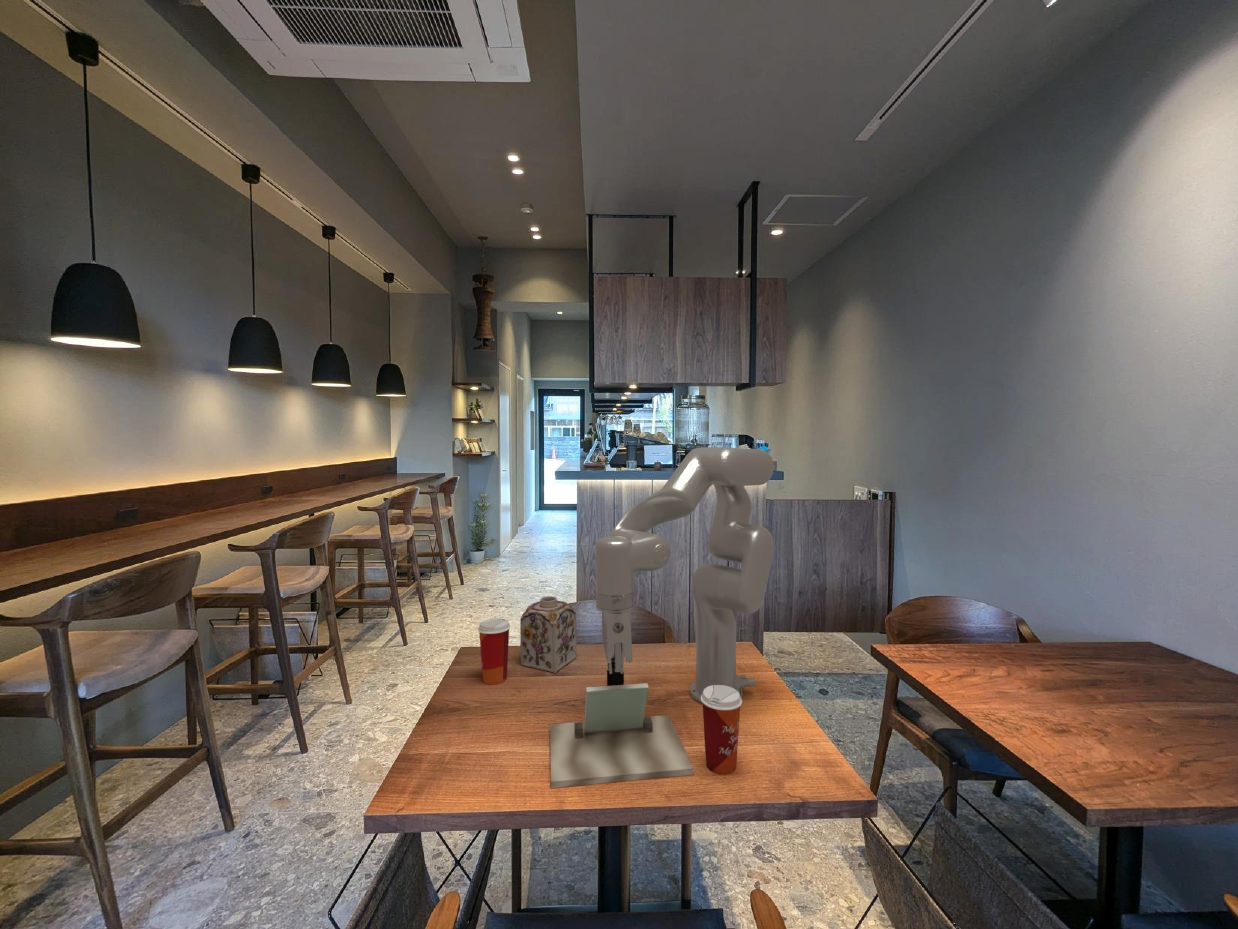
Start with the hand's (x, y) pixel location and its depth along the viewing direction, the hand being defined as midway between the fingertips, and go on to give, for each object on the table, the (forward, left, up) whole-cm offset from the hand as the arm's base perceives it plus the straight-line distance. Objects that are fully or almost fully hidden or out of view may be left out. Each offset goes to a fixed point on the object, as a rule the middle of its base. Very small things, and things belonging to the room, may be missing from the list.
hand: (615, 690), depth 104 cm
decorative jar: (+13, -44, -12) cm, 47 cm away
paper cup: (-19, +8, -12) cm, 24 cm away
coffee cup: (+27, -35, -12) cm, 46 cm away
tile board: (0, +1, -12) cm, 12 cm away
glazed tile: (0, -4, -10) cm, 11 cm away
